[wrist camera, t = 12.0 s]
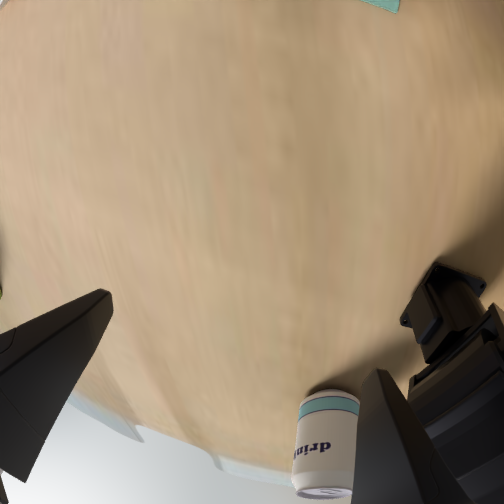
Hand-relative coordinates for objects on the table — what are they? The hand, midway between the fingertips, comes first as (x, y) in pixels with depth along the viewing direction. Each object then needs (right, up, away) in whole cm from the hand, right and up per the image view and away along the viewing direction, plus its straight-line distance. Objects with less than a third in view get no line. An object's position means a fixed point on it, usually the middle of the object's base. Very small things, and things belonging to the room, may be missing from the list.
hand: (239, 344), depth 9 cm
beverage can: (+9, -14, +22) cm, 28 cm away
